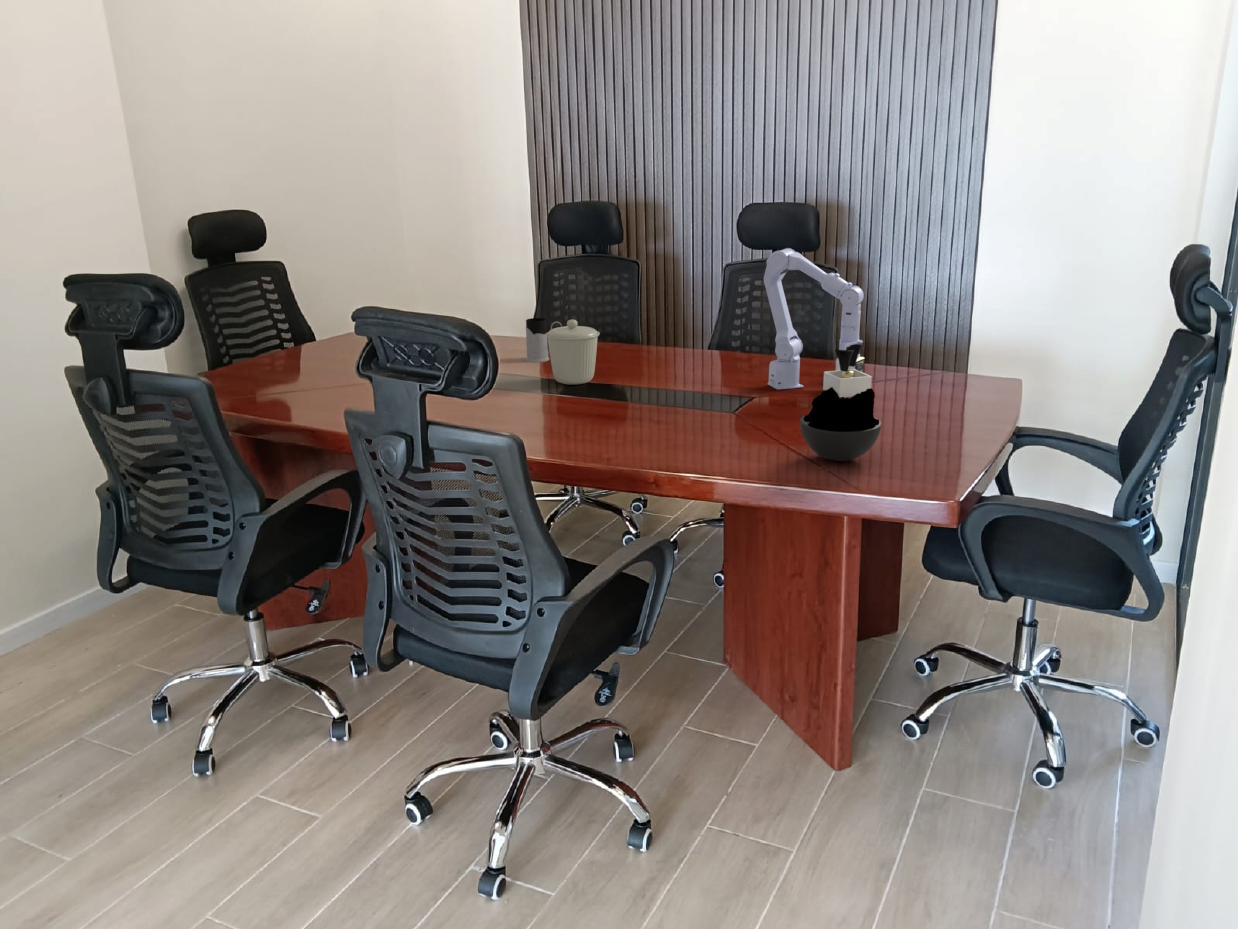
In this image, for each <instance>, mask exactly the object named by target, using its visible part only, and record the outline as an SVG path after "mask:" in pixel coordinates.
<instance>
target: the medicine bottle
mask: <svg viewBox="0 0 1238 929" xmlns="http://www.w3.org/2000/svg"><path fill="white" fill-rule="evenodd" d="M865 361H866V360H865V357H864V356H861V351H860V352H859V354H858V357H857V361H856V364H855V366H854V367H852V366H849V368H848V370H851V369H856V370H858V371H860V372H863V373H865ZM839 370H840V365H839V359H838V357H837V358H836V360H835V371H839Z"/></svg>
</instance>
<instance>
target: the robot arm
mask: <svg viewBox="0 0 1238 929" xmlns="http://www.w3.org/2000/svg"><path fill="white" fill-rule="evenodd" d="M765 262H766V266H765V267H766V268H765V271H764V275H763V283H764V287H765V291H766V295H767V299H768V303H769V307H770V310H771V314H772V318H773V323H774V326H775V331H776V336H775V339H774V341H775V349H774V351H775V355H776V357H777V358H776V359H775V360H771V361H770V363H769V365H768V368H769V369H768V382H767V385H768V386H769V387H772V388H773V389H776V390H788V389H789V390H791V389H798V388H800V389H801V388H804V385H803V384H800V366H801V362H800V361H801V357H800V354H801V353H802V352H803V349H804V343H803V342H802V340H801V338H800V337H799V336H798V332H797V330H795V329H794V327H793V322H792V319H791V315H790V311H789V307H788V304H787V303H788V302H787V300H786V295H785V292H784V287H783V284H782V280H783V279H784V277H785V275H786V274H787V272H789V271H801V272H803V274H805V275H806V276H808V277H810V278H812V279H814V280H815V281H817V282H819V283H820V285H821V288H822V290H824V291H825V292H827V293H829V294H830V295H831V296H833V297H834V298H836V299H838V300H839V301H840V303H841V305H842V307H841V310H842V311H841V320H840V323H841V324H840V337H839V338H840V339H839V345H838V347H836V348H835V350H834V351H835V355H836V356H837V358H838V359H839V365H840V370H841V371H846V372H847V371H848V368H849V366H852V367H854V366H855V364H856V361H857V357H858V354H859V352H860V353H861V350H862V348H863V347H864V346H863V342H864V341H863V339H860V329H861V328H860V326H861V313H862V311H861V309H862V308H861V307H862V303H861V302H863V300H864V298H865V297H864V295H865V293H864V291H863V289H862V288H860V286H859V285H853V283H852V282H848V281H846V280H845V279H843V278H842V277H840V276H841V274H839V273H837V272H836V273H835V272H830V273H827V272H825V271H824V270H823V269H821V268H820V267H818V266H817V265H815V263H813V262H812V261H810V260H809V259H807V258H806V257H805V256H803V255H802V254H801V253H800V252H798V251H795V250H794V249H792V248H790V247H786V248H783V249H781V250H776V251H773V252H772V253H771V254H769V257H768V258H767V260H766V261H765Z"/></svg>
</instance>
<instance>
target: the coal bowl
mask: <svg viewBox="0 0 1238 929" xmlns="http://www.w3.org/2000/svg"><path fill="white" fill-rule="evenodd" d="M875 397H876V394H875V391H874V389H873V388H872V387H871V388H870V389H867V390H866V391H863V392H861V393H860V394H859V393H857V394H855V395H854V396H853V397H844V398H840V397H839V395H838V393H837V392H836V391H835V390H834V389H833V387H831V388H829V389H827V390H825V391H824V390H823V391H822V392H821V393H820V394H819V395H817V396H816V397H814V398H813V399H812V402H811V409H810V410H809V412H808V414H805V415H804V416H802V417H800V420H799V425H800V432H801V434H802V437H803V439H804V441H805V443H806V444H807V445H808V447H809V448H810V449H811V450H812V451H813V452H814V453H815V454H817V455H819V456H820V457H822V458H823V459H826V460H830V461H833V460H834V462H847V461H852V460H855V459H858V458H859V457H861V456H863V455H865V454H866V453H867V452H869V450H870V449H871V448H872V447H873V446H874V445H875V443H876V442H877V440H878V438H879V435H880V434H881V430H882V421H881V420H880V419H878V418H877V417H874V406H875Z"/></svg>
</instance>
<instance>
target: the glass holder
mask: <svg viewBox="0 0 1238 929" xmlns="http://www.w3.org/2000/svg"><path fill="white" fill-rule="evenodd" d="M556 323H557V324H559V325H560V327H563V324H562V323H561V322H559V321H554V322H553V323H551V325H550V330H552V329H553V325H554V324H556ZM525 325H526V326H525V339H526V340H525V341H526V358H525V361H527V362H530V363H545V362H548V361H550V356H549V355H550V351H549V345H548V338H547V337H546V335H545V334H546V333H547V330H548V329H547V326H548V325H547V318H542V317H533V318H526V319H525Z"/></svg>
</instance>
